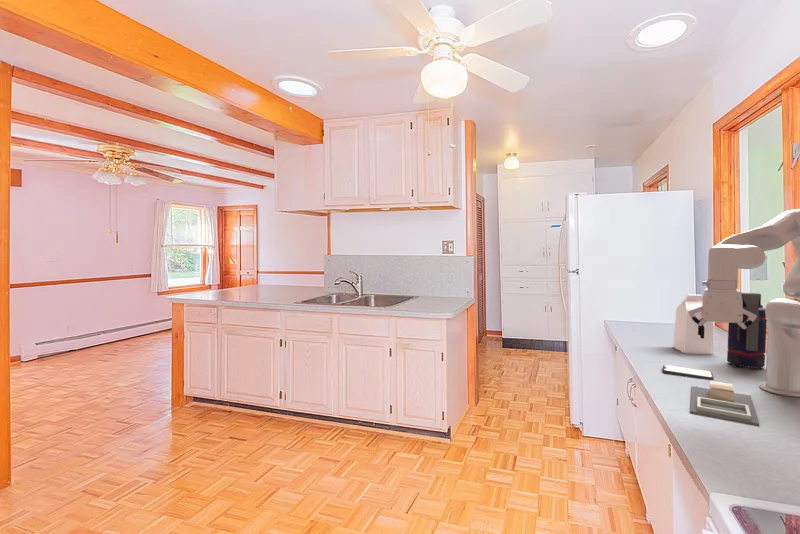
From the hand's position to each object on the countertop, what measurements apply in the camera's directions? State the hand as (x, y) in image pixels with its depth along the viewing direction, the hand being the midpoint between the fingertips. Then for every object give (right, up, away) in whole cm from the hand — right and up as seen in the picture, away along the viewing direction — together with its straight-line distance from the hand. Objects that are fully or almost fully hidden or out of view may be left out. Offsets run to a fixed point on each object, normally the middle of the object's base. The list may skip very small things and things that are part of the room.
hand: (720, 339), depth 136 cm
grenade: (+39, -18, +38) cm, 57 cm away
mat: (-1, -20, -1) cm, 20 cm away
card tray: (-4, -21, -7) cm, 22 cm away
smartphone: (+9, -19, +30) cm, 36 cm away
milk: (+34, -16, +63) cm, 74 cm away
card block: (+3, -19, +4) cm, 20 cm away
